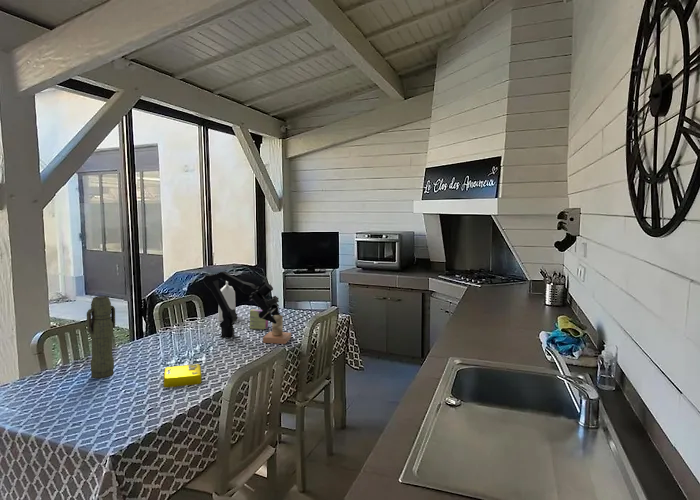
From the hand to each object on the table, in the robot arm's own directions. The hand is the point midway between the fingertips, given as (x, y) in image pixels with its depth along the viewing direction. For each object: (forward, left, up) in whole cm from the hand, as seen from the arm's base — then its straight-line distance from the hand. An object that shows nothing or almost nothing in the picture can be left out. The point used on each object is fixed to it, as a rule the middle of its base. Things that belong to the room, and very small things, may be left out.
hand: (278, 321), depth 254 cm
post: (-1, 0, -8) cm, 8 cm away
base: (-1, 0, -11) cm, 11 cm away
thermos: (-61, -68, -11) cm, 92 cm away
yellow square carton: (-24, -67, -12) cm, 72 cm away
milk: (-50, +45, -11) cm, 68 cm away
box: (-20, +24, -11) cm, 33 cm away
